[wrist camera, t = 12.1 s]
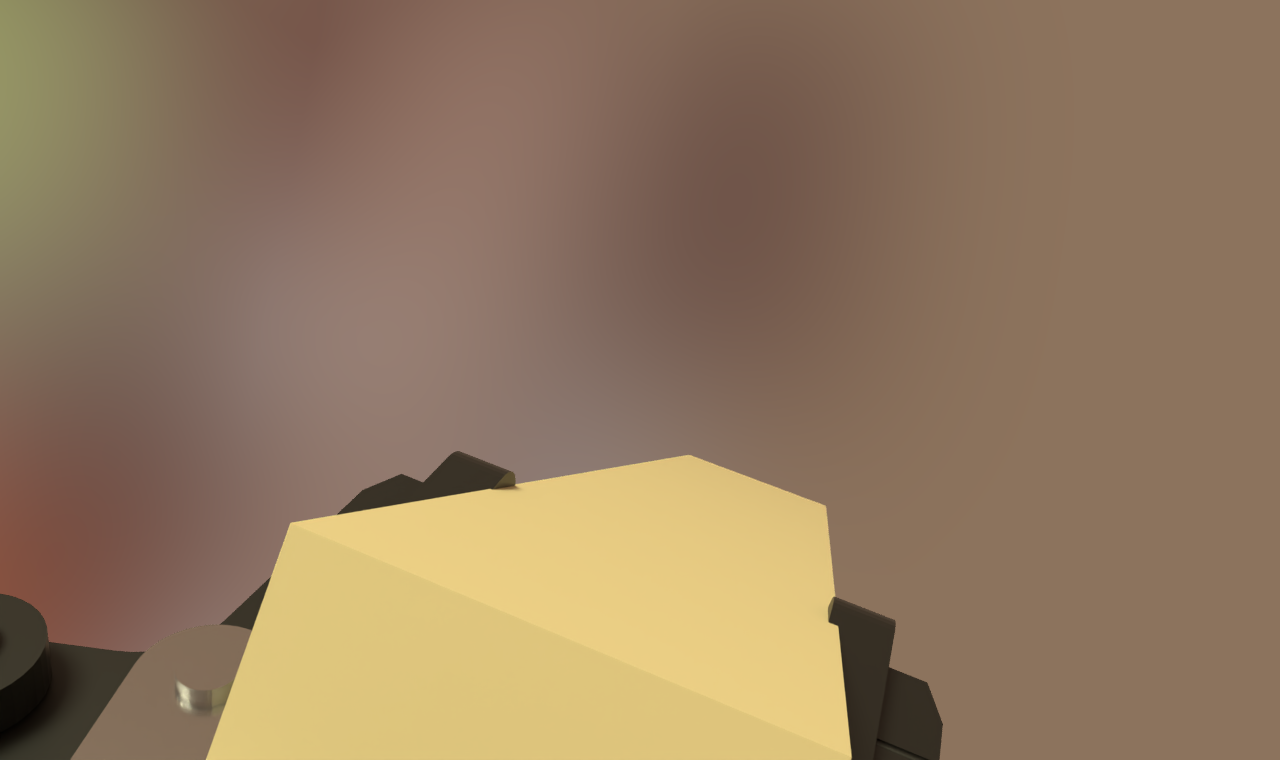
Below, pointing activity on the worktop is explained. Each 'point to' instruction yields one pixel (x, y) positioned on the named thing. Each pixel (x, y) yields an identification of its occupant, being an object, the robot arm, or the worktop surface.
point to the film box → (551, 627)
